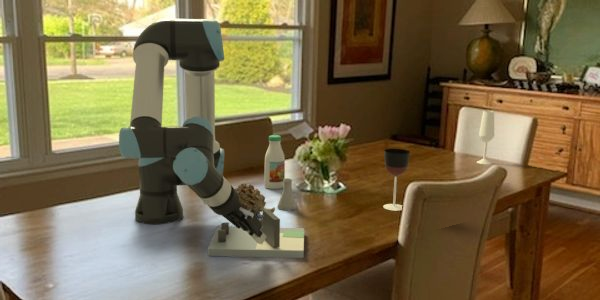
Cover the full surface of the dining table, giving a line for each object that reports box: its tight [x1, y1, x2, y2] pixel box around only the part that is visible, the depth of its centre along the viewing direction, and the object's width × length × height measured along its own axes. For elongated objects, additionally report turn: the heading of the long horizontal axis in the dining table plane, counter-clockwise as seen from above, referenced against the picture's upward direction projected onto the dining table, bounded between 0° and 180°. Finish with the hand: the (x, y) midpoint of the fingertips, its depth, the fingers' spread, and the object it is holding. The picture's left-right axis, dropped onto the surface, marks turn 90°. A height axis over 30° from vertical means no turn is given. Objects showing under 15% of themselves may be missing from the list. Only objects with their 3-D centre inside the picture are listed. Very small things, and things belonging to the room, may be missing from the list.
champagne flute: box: [476, 110, 495, 165], centre depth 273 cm, size 7×7×24 cm
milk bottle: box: [263, 134, 286, 190], centre depth 228 cm, size 8×8×20 cm
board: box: [207, 221, 306, 259], centre depth 171 cm, size 26×18×5 cm
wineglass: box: [382, 148, 411, 212], centre depth 206 cm, size 8×9×20 cm
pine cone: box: [234, 183, 276, 215], centre depth 194 cm, size 22×10×10 cm, turn 44°
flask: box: [276, 177, 299, 211], centre depth 204 cm, size 7×7×10 cm
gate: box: [258, 208, 281, 248], centre depth 168 cm, size 15×2×8 cm, turn 24°
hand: (262, 239), depth 163 cm, fingers closed
